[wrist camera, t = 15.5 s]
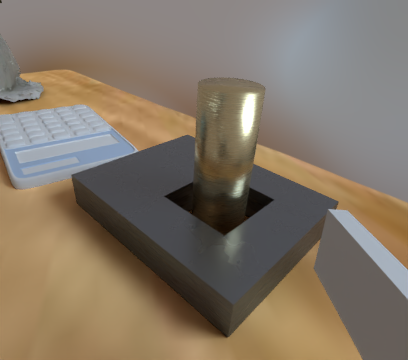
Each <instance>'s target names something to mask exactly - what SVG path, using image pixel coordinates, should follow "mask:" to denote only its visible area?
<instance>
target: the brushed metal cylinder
mask: <svg viewBox="0 0 408 360" xmlns="http://www.w3.org/2000/svg"><path fill="white" fill-rule="evenodd" d="M264 95H265V87H264V86H262V85H261V84H259V83H256V82H253V81H248V80H243V79H236V78H209V79H204V80H201V81H199V82H198V94H197V114H196V136H195V157H194V179H193V200H192V215H193V216H195V217H196V218H198V219H199V220H201V221H202V222H204V223H206V224H207V225H209V226H210V227H212V228H213V229H215V230H216V231H218V232H219V233H221V234H222V235H224V236H225V235H227V234H228V233H229V232H231V231H232V230H234V229H235V228H236V227H238V226H239V225H241V224H242V223H243V222H244V218H245V212H246V206H247V200H248V194H249V187H250V181H251V175H252V169H253V163H254V157H255V150H256V144H257V138H258V131H259V125H260V119H261V113H262V107H263V101H264Z"/></svg>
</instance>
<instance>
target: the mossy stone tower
mask: <svg viewBox="0 0 408 360" xmlns="http://www.w3.org/2000/svg"><path fill="white" fill-rule="evenodd" d="M0 3H2V2H1V0H0ZM19 69H20V68H19V66H18V63H17V61H16V60H15V58H14V57H13V54H12V52H11V50H10V48H9V46H8V45H7V43H6V42H5V40H4V39H3V38H2V36H1V35H0V98H1V99H5V100H9V101H12V102H15V101H17V100H23V99H30V98H32V99H36V97H37V99H39V96H40V94H41V92H43V87H42V85H40V83H36V82H31V81H30V80H29V82H26V81H25V80H22V78H20V77H19V76H20V75H19V74H21V73H18V71H19Z"/></svg>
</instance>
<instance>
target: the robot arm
mask: <svg viewBox="0 0 408 360" xmlns="http://www.w3.org/2000/svg"><path fill="white" fill-rule="evenodd" d="M314 270H315V272H316V274H317V275H318V277H319V279H320V281H321V283H322V285H323V287H324V288H325V290H326V292H327V294H328V296H329V298H330V300H331V301H332V303H333V305H334V307H335V309H336V311H337V312H338V314H339V316H340V318H341V320H342V322H343V324H344V325H345V327H346V329H347V331H348V333H349V335H350V336H351V338H352V340H353V342H354V344H355V346H356V348H357V349H358V351H359V353H360V355H361V357H362V359H363V360H408V270H407V269H406V268H405V267H404V266H403V265H402V264H401V263H400V262H399V261H398V260H397V259H396V258H395V257H394V256H393V255H392V254H391V253H390V252H389V251H388V250H387V249H386V248H385V247H384V246H383V245H382V244H381V243H380V242H379V241H378V240H377V239H376V238H375V237H374V236H373V235H372V234H371V233H370V232H369V231H368V230H367V229H366V228H365V227H364V226H363V225H362V224H361V223H360V222H359V221H358V220H357V219H355V218H354V217H353V216H352V215H351V214H350V213H349V212H348V211H347V210H334V209H328V211H327V215H326V219H325V223H324V228H323V232H322V236H321V240H320V244H319V249H318V253H317V257H316V261H315V265H314Z"/></svg>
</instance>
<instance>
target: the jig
mask: <svg viewBox="0 0 408 360" xmlns="http://www.w3.org/2000/svg"><path fill="white" fill-rule="evenodd" d="M194 157H195V138H194V137H192V136H189V135H185V136H182V137H179V138H177V139H174V140H171V141H168V142H165V143H162V144H159V145H156V146H153V147H150V148H147V149H145V150H142V151H139V152H136V153H133V154H130V155H127V156H124V157H121V158H118V159H116V160H113V161H110V162H107V163H104V164H101V165H98V166H95V167H92V168H89V169H87V170H84V171H81V172H78V173H75V174H72V175H71V176H72V181H73V186H74V191H75V196H76V201H77V204H79V205H80V206H81V207H82V208H83V209H84V210H85V211H86V212H88V213H89V214H90V215H91V216H92V217H93V218H94V219H95V220H97V221H98V222H99V223H100V224H101V225H102V226H103V227H104V228H105V229H107V230H108V231H109V232H110V233H111V234H112V235H113V236H114V237H116V238H117V239H118V240H119V241H120V242H121V243H122V244H123V245H125V246H126V247H127V248H128V249H129V250H130V251H131V252H132V253H134V254H135V255H136V256H137V257H138V258H139V259H140V260H141V261H142V262H144V263H145V264H146V265H147V266H148V267H149V268H150V269H151V270H153V271H154V272H155V273H156V274H157V275H158V276H159V277H160V278H162V279H163V280H164V281H165V282H166V283H167V284H168V285H169V286H171V287H172V288H173V289H174V290H175V291H176V292H177V293H178V294H180V295H181V296H182V297H183V298H184V299H185V300H186V301H187V302H188V303H190V304H191V305H192V306H193V307H194V308H195V309H196V310H197V311H199V312H200V313H201V314H202V315H203V316H204V317H205V318H206V319H208V320H209V321H210V322H211V323H212V324H213V325H214V326H215V327H217V328H218V329H219V330H220V331H221V332H222V333H223V334H224V335H225V336H227V337H229V336H230V335H231V334H232V333H233V332H234V331H235V330H236V329H237V327H238V326H239V325H240V324H241V323H242V322H243V321H244V320H245V319H246V318H247V317H248V316H249V315H250V314H251V312H252V311H253V310H254V309H255V308H256V307H257V306H258V305H259V304H260V303H261V302H262V301H263V300H264V299H265V297H266V296H267V295H268V294H269V293H270V292H271V291H272V290H273V289H274V288H275V287H276V286H277V285H278V283H279V282H280V281H281V280H282V279H283V278H284V277H285V276H286V275H287V274H288V273H289V272H290V271H291V270H292V268H293V267H294V266H295V265H296V264H297V263H298V262H299V261H300V260H301V259H302V258H303V257H304V256H305V255H306V253H307V252H308V251H309V250H310V249H311V248H312V247H313V246H314V245H315V244H316V243H317V242H318V241H319V240H320V238H321V236H322V232H323V228H324V223H325V219H326V215H327V211H328V209H334V210H336V208H337V205H338V201H336V200H334V199H331V198H329V197H327V196H325V195H322V194H320V193H318V192H316V191H313V190H311V189H309V188H307V187H304V186H302V185H300V184H298V183H295V182H293V181H291V180H289V179H286V178H284V177H282V176H280V175H277V174H275V173H273V172H271V171H268V170H266V169H264V168H262V167H259V166H257V165H255V164H253V169H252V175H251V181H250V187H249V194H248V200H247V206H246V212H245V215H247V216H249V217H250V218H249V219H247V220H246V221H245V222H243V223H242V224H241V225H239V226H238V227H236V228H235V229H234V230H232V231H231V232H229V233H228V234H227V235H225V236H224V235H222V234H221V233H219V232H218V231H216V230H215V229H213V228H212V227H210V226H209V225H207V224H206V223H204V222H202V221H201V220H199V219H198V218H196V217H195V216H193V215H192V214H190V213H189V212H188V211H190V210H192V200H193V179H194Z"/></svg>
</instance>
